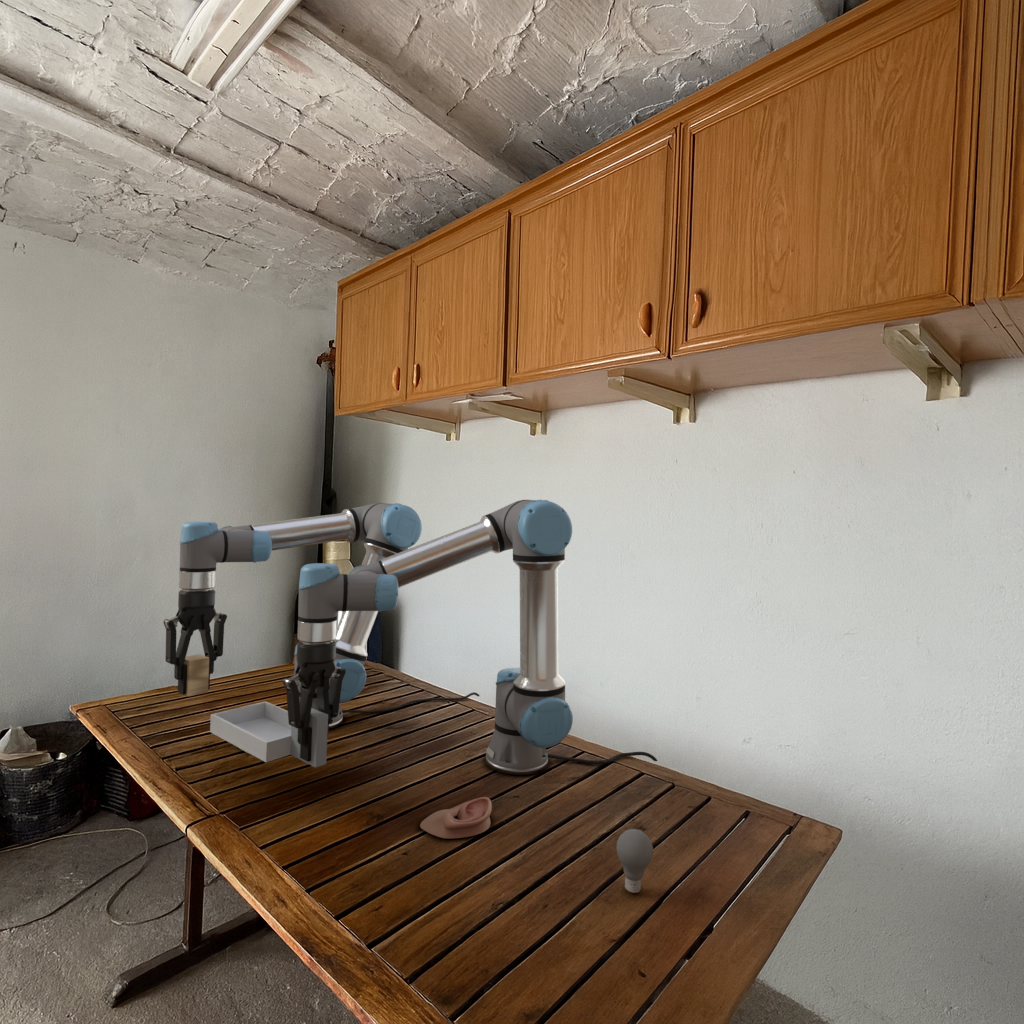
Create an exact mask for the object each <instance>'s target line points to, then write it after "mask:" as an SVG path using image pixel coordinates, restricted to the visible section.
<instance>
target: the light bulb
mask: <svg viewBox="0 0 1024 1024" xmlns="http://www.w3.org/2000/svg"><path fill="white" fill-rule="evenodd" d="M615 849H616V854H617V857H618V859H619V861H620V863H621V865H622V867H623V873H624V874H623V875H624V876H625V878H624V888H625V890H627V891H628V892H630V893H634V894H635V893H639V892H640V891H641V889H642V887H641V886H642V879H643V877H644V875H645V871H646V868H647V867H648V866H649V864H650V863H651V861H652V859H653V855H654V847H653V843H652V841H651V838H649V836H648V835H647V834H646V833H645V832H643V831H642V830H641V829H636V828H629V829H627V830H625V831H623V832H622V833H621V834H620V835H619V837H618V839H617V841H616V847H615Z"/></svg>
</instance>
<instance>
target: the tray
mask: <svg viewBox="0 0 1024 1024" xmlns="http://www.w3.org/2000/svg"><path fill="white" fill-rule="evenodd" d="M209 721H210V723H209V724H210V725H209V730H210V731H209V733H210V734H212V735H215V736H216V737H218V738H220V739H222V740H224V741H225V742H227V743H229V744H231V745H233V746H234V747H237V748H239V750H241V749H242V750H241V751H243V750H244V751H243V752H245V751H246V752H245V753H247V752H248V753H249V755H252V756H253V757H255V758H256V759H259V760H261V761H262V762H264V763H269V762H273V761H275V760H278V759H282V758H285V757H288V756H292V757H294V758H296V759H298V760H300V761H302V762H303V763H305V764H308V765H310V766H311V767H313V768H314V769H315V768H319V767H322V766H325V765H327V759H328V758H327V757H328V756H327V755H328V737H327V732H328V714H325V713H323V712H320V711H318V710H315V709H313V708H311V715H310V722H309V727H311V728H312V747H311V761H308V762H307V761H305V760H303V759H301V758H300V744H299V743H298V741H297V740H298V728H295V727H293V726H291V725H289V721H288V709H286V708H285V709H284V708H282V707H280V706H277V705H275V704H273V703H270V702H268V701H265V700H264V701H261V702H257V703H253V704H248V705H244V706H240V707H235V708H231V709H227V710H223V711H218V712H215V713H211V714H210V720H209ZM248 753H247V754H248Z"/></svg>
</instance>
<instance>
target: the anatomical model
mask: <svg viewBox="0 0 1024 1024" xmlns="http://www.w3.org/2000/svg"><path fill="white" fill-rule="evenodd" d="M492 804H493V803H492V800H491V799H490V798H489V797H487V796H482V797H478V798H474V799H471V800H467V801H465V802H463V803H460V804H459V805H458V804H457V805H456V806H454V807H451V808H446V809H441V810H437V811H435V812H433V813H431V814H430V815H428V816H427V817H426V818H424V819H423V820H422V821H421V822H420V824H419V827H420V829H421V830H423V831H424V832H425V833H428V834H430V835H432V836H434V837H437V838H441V839H446V840H448V839H451V840H453V839H461V838H462V839H463V838H468V837H469V838H470V837H473V836H477V835H480V834H482V833H484V832H486V831H488V829H490V827H491V817H490V816H491V814H492V811H493V805H492Z"/></svg>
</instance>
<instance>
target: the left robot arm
mask: <svg viewBox="0 0 1024 1024" xmlns="http://www.w3.org/2000/svg"><path fill="white" fill-rule="evenodd" d="M180 529H181V531H180V539H179V572H178V588H179V589H180V590H179V591H178V599H177V600H178V601H177V606H178V610H177V612H176V614H175V615H174V616H173V617H171V618H169V619H168V618H165V619H164V620H163V625H164V628H165V662H166V663H167V664H169V665H174V668H173V669H174V675H173V677H174V680H177V693H178V694H181V695H183V696H186V695H185V694H186V691H187V665H185V664H184V662H185V658H186V656H187V653H188V649H189V646H190V642H191V639H192V636H193V635H194V632H195V631H197V630H198V632H199V634H200V639H201V645H202V647H203V653H204V654H203V655H204V656H206V657H208V658H209V680H208V691H209V690H210V686H211V674H213V673H214V671H215V662H216V661H217V659H218V658H219V657H222V656H223V654H224V637H225V624H226V621H227V618H228V615H227V614H226V613H222V612H217V610H216V608H215V605H216V590H215V589H214V588H216V581H217V580H216V579H217V563H220V564H225V563H254V564H255V563H259V562H267V561H269V559H270V557H271V555H272V551H278V550H287V549H290V548H298V547H299V548H300V547H306V546H311V545H312V546H313V545H319V544H325V543H333V542H340V541H346V543H357V542H358V543H359V542H363V546H364V548H365V550H366V552H365V556H364V557H363V560H362V563H361V565H368V564H371V563H373V562H376V561H379V560H381V559H384V558H387V557H389V556H392V555H394V554H397V553H400V552H402V551H405V550H407V549H410V548H412V547H414V545H416V544H417V542H418V541H419V540H420V537H421V535H422V531H423V525H422V520H421V518H420V516H419V514H418V513H417V511H416V510H415V509H413V508H412V507H410V506H408V505H406V504H402V503H398V502H396V503H388V502H387V503H386V502H375V503H370V504H366V505H361V506H357V507H351V508H345V509H343V510H342V511H341V512H339V513H332V514H325V515H324V514H323V515H316V516H309V517H308V516H307V517H301V518H293V519H286V520H285V519H283V520H277V521H270V522H260V523H254V524H247V525H245V524H244V525H239V526H231V525H227V526H226V525H225V526H223V527H219V528H218V523H217V522H216V521H215V522H214V521H201V520H200V521H196V520H195V521H194V520H193V521H186V522H183V524H182V525H181V528H180ZM378 613H379V612H378V611H342V613H341V614H342V615H341V617H340V618H339V622H338V623H337V637H336V639H335V640H334V641H335V642H336V657H335V659H334V663H335V666H336V667H339V668H342V669H345V670H346V673H345V676H344V678H343V680H342V687H341V695H340V703H339V710H338V716H337V717H335V718H334V717H333V718H332V720H333V721H332V723H331V724H329V730H332V729H335V728H337V727H339V726H340V725H342V723H343V722H344V714H343V713H347V714H349V713H351V714H352V713H355V714H357V713H358V714H376V713H383V712H389V711H394V710H398V709H400V708H403V707H405V706H408V705H411V704H414V703H421V702H430V701H463V700H466V699H468V698H469V697H471V696H476V697H481V696H480V694H479V693H478V692H470V693H468V694H466V695H465V696H462V697H429V698H419V699H414V700H410V701H407V702H404V703H402V704H399V705H396V706H393V707H388V708H381V709H371V710H364V709H363V710H361V709H342V706H341V704H342V703H343V704H344V703H347V702H350V701H351V700H353V699H355V698H356V697H358V696H359V695H360V694H361V692H362V691H363V689H364V687H365V685H366V683H367V672H366V668H365V664H366V661H367V659H368V652H367V649H366V645H367V642H368V639H369V637H370V634H371V632H372V629H373V626H374V624H375V621H376V618H377V616H378ZM212 621H214V623H213V638H212V634H211V632H212V630H211V625H210V624H211V622H212ZM178 623H179V624H180V625H181V628H180V637H179V640H178V643H177V627H178ZM212 639H213V640H212ZM293 654H294V655H293V656H294V672H293V675H294V674H295V671H296V668H297V666H298V663H297V644H296V645H295V650H294V653H293ZM331 676H332V675H331ZM330 680H331V677H330V679H329V685H330ZM298 684H299V686H298V690H299V701H300V697H301V691H300V687H301V682H300V681H299V680H298ZM312 708H313V709H315V710H318V704H317V690H316V691H315V694H314V695H313V701H312Z"/></svg>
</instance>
